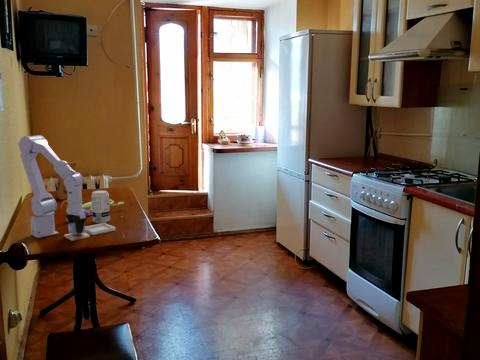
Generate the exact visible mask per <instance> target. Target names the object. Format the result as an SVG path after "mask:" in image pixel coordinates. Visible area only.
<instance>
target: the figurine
mask: <svg viewBox="0 0 480 360" xmlns="http://www.w3.org/2000/svg"><path fill="white" fill-rule="evenodd" d="M65 202H66V203H67V204H66V210H67V209H68V199H64V200H63V201H62V203H61V205H60V208H62V206H63V204H64V203H65ZM65 220H66V221H67V222H68V220H67V218H66V217H65Z"/></svg>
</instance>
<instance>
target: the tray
mask: <svg viewBox="0 0 480 360" xmlns="http://www.w3.org/2000/svg"><path fill="white" fill-rule="evenodd" d="M114 231H115V232H116V226H114V225H111V224H108V223H107V222H106V223H95V224H90V225H85V233H87V234H89V235H90V236H97V235H102V234H105V233H110V232H114Z"/></svg>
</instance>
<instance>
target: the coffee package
mask: <svg viewBox="0 0 480 360" xmlns="http://www.w3.org/2000/svg"><path fill="white" fill-rule="evenodd" d="M68 165H69V166H70V167H71V168H72V169H73V170H74V171H75V172H78V164H77V161H73V162H68ZM63 181H64V180H63V179H62V177H61V176H60V175H59V174H58V173H57V185H56V186H57V187H56V189H57V190H56V191H57V196H58V199H59V200H63V201H64V200H67V199H68V195H67V190H66V186H65V185H64V182H63Z"/></svg>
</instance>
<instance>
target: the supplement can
mask: <svg viewBox="0 0 480 360" xmlns="http://www.w3.org/2000/svg"><path fill="white" fill-rule="evenodd" d="M90 197H91V201H92V222H93V223H95V224H100V223H106V224H107V223H109V222H110V221H111V211H110V202H109V199H110V194H109V192H108V191H107V190H94V191H92V193H91V196H90Z"/></svg>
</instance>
